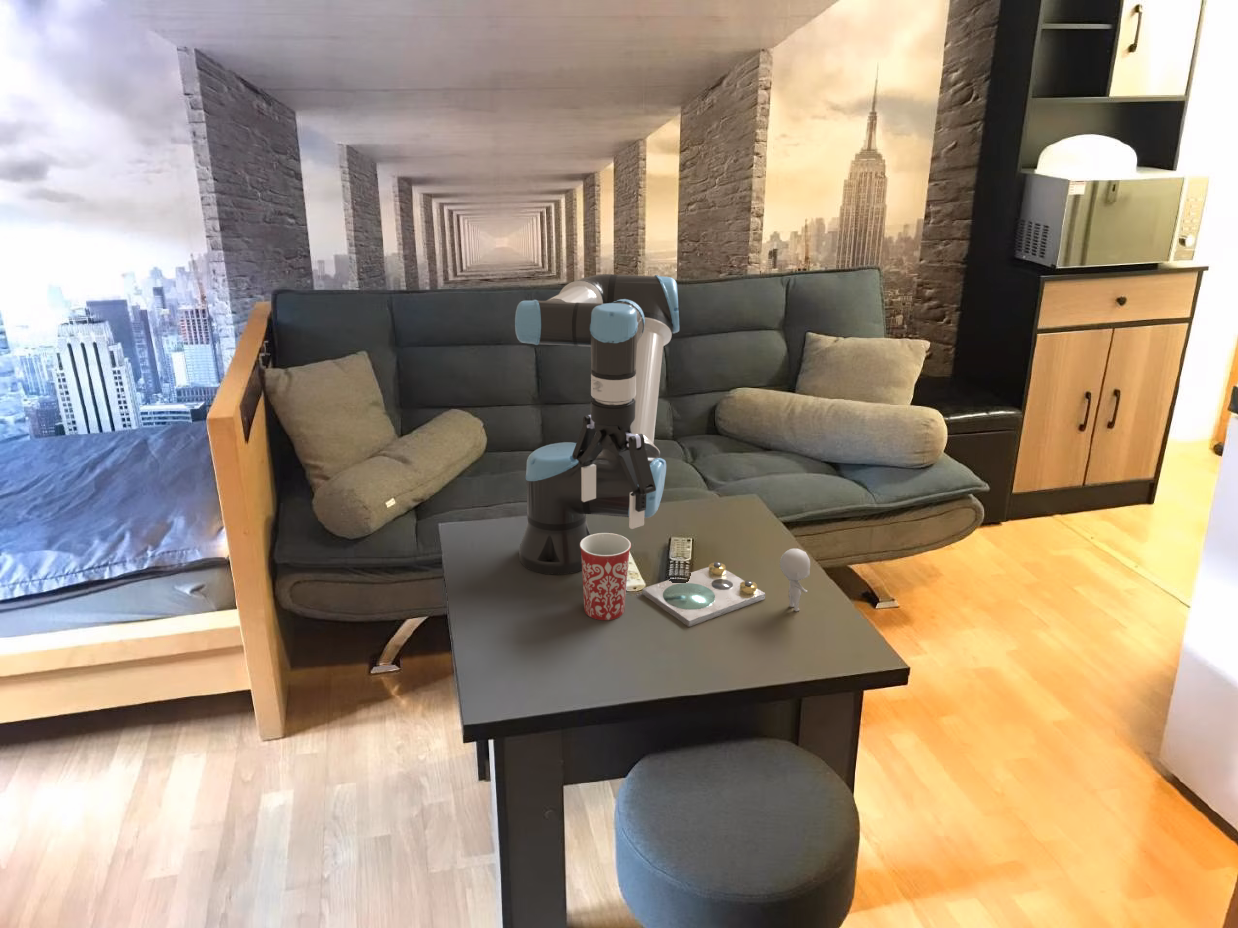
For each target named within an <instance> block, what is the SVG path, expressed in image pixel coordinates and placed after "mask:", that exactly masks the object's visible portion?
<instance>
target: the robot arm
mask: <svg viewBox="0 0 1238 928" xmlns="http://www.w3.org/2000/svg"><path fill="white" fill-rule="evenodd" d="M679 314H680V313H679V297H678V283H677V281H676V280H675V278H673V277H670V276H662V275H658V274H655V275H638V274H637V275H634V274H612V273H602V274H601V273H600V274H593V275H589V276H586V277H582V278H580V279H576V280H573V281H572V282H569V283H568V284H566V285H565V286H563V288H562V289H561V290H560V292H559V293H558V294H557V295H555V296H552V297H550V298H548V299H547V300H537V299H533V300H522V301H520V302H518V304H517V306H516V310H515V317H514V330H515V335H516V338H517V340H518V341H519V343H521V344H522V343H523V344H532V345H535V346H538V345H549V346H555V345H556V346H575V347H590V361H591V362H590V363H591V365H590V373H591V374H590V380H591V381H590V395H591V397H592V398H591V400H590V414H587V415H583V417H582V427H581V430H580V433H579V434H578V435H579V436H578V438H577V441H576V442H570V441H569V442H567V441H566V442H565V441H563V442H555V443H550V444H546V445H544V446H541V447H539V448H537V449H535V450H534V451H532V452H531V453H530V454H529V456H528V457H527V460H526V472H525V473H526V474H525V482H526V486H525V487H526V511H527V512H526V513H527V523H526V527H525V529H524V532H523V535H522V538H521V542H520V544H519V549H518V552H519V557H518V559H519V562H520V563H521V564H522V566H523V567H525V568H527V569H528V570H530V571H532V572H535V573H538V574H545V575H567V574H573V573H577V572H580V571H582V556H581V548H580V542H581V540H582V539H584V538H585V537H587V536H589V535H592V534H591V532H590V529H589V526H588V523H587V515H592V516H593V515H594V516H608V517H609V516H610V517H618V518H619V517H621V518H628V519H629V522H628V523H629V524H628V527H629V529H631V530H633V529H636V528H639V527H643V526H644V525H645V519H646V518H651V517H653V516H654V515H656V513H657V512H658V509H659V507H660V505H661V500H662V497H663V493H664V488H665V481H666V476H667V462H666V460H665V459H664V458H662V457H660V456H661V451H660V450H659V448H658V447H657V446H656V445H655V444H654V443H655V441H654V440H655V433H656V432H655V431H656V429H655V428H656V422H657V421H656V420H657V410H658V402H659V401H658V400H659V393H660V392H659V391H660V382H661V381H660V380H661V371H662V361H663V351H664V346H666V345H668V344H669V343H670V342H671V339H672V337H673V336H672V335H673V334H676V333H678V332H680V316H679Z"/></svg>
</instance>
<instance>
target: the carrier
mask: <svg viewBox="0 0 1238 928" xmlns="http://www.w3.org/2000/svg"><path fill="white" fill-rule="evenodd" d="M726 567H727V566H726V564H724V563H722V562H720V561H714V562H711V563H709V565H708V567H707V566H706V567H703V568H701V569H698V570H695V571H692V572H690V573H691V576H690V579H689V581H688V582H686V583H672V582H671V581H669V580H670V579H667V580H665V581H660V582H657V583H655V584H652V585H648V586H646V587H643V588H642V591H641V592H642V593H641V594H642V595H643V596H645V598H647V599H648V600H649V601H651V602H653V603H654V604H655V605H657V606H659V607H660V608H661V609H662V610H664V611H666V612H667V613H668V614H669V615H671V616H672V617H674V618H675V619H678V621H680V623H681V622H682V623H683V624H684V625H686V627H688V628H690V627H693V626H695V625H697V624H701V623H703V622H706V621H710V620H712V619H715V618H717V617H720V616H723V615H724V614H728V613H731V612H733V611H736V610H738V609H741V608H744V607H747V606H750V605H753V604H756V603H758V602H760V601H764V600H765V599H766V592H763V591H762V590H761V589H759V588H758V584H757V583H756V582H754V581H752V580H744V579H743V578H740V577H739V576H737V575H736V574H734V573H732V572H730V571H729V570H727V569H726Z"/></svg>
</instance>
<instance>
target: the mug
mask: <svg viewBox="0 0 1238 928" xmlns="http://www.w3.org/2000/svg"><path fill="white" fill-rule="evenodd" d="M631 547H632V543H631V541H630V540H629V539H628V538H627V537H626V536H623V535H621V534H617V533H612V532H610V533H609V532H599V533H594V534H591V535H589V536H587V537H585V538H584V539H582V540H581V542H580V548H581V556H582V570H581V571H582V572H581V573H582V589H583V590H582V592H583V609H584V613H585V614H586V615H587V616H588V617H589V618H591V619H595V620H600V621H609V620H610V621H611V620H612V621H613V620H615V619H618V618H620V617H621V616H622V615H623V614H624V612H625V605H626V593H627V592H626V591H627V583H628V571H629V570H628V569H629V559H630V550H631Z"/></svg>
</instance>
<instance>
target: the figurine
mask: <svg viewBox="0 0 1238 928" xmlns="http://www.w3.org/2000/svg"><path fill="white" fill-rule="evenodd" d="M779 567H780V570H781V572H782V573H783V575H784V576H785V578H786V579H787V580H789V581H788V582H789V589H788V593H789V594H788V595H789V604H788V605H789V607H790V608H793V610H794V612H799V611H800V608H799V604H800V600H801V599H800V598H801V595H802V592H803V593H805V594H807V593H808V590H807V589H805V588H804V587H803V586H802V585H801V582H800V581H801V580H804V579H806V578H809V577H810V575H811V574H810V569H811V559H810V558H809V555H808V554H807V552H806V551H804V550H803V549H800V548H793V547H792V548H790V549H788V550H786V551H785V552H784V553H783V554H782V555H781V557H780V561H779Z"/></svg>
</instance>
